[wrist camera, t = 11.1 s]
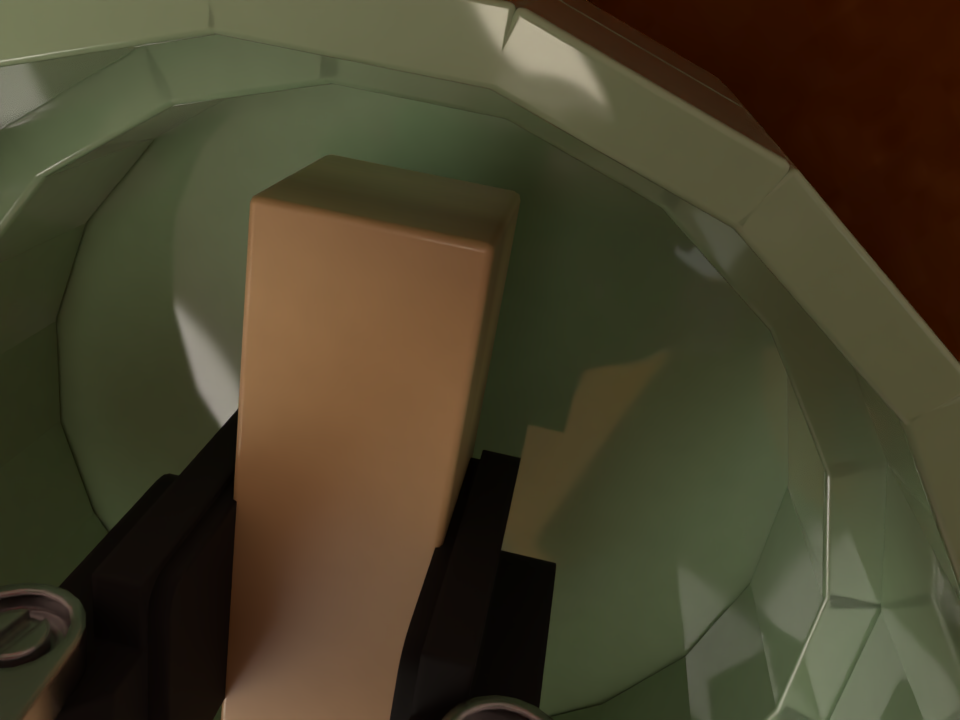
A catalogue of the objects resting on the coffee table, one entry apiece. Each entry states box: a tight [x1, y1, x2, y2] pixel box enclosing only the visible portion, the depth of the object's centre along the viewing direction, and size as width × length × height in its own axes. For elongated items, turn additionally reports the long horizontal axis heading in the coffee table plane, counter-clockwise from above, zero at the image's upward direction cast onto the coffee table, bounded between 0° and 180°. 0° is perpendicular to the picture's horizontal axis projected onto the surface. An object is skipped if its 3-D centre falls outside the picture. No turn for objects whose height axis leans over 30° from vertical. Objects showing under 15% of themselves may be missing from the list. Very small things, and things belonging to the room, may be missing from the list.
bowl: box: [0, 0, 960, 720], centre depth 12 cm, size 14×14×6 cm
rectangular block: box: [221, 154, 521, 720], centre depth 11 cm, size 10×2×2 cm, turn 171°
